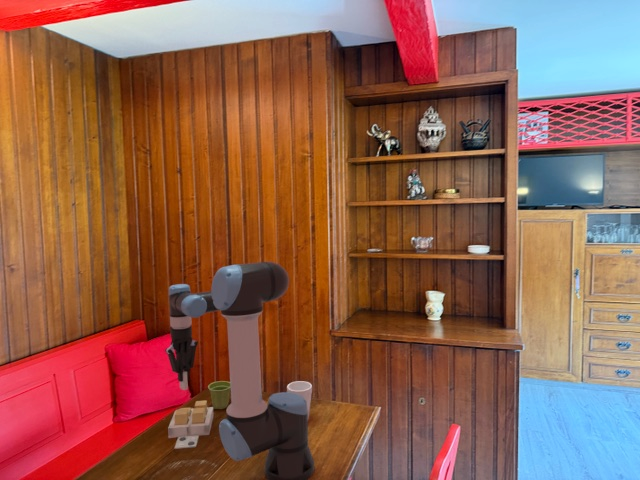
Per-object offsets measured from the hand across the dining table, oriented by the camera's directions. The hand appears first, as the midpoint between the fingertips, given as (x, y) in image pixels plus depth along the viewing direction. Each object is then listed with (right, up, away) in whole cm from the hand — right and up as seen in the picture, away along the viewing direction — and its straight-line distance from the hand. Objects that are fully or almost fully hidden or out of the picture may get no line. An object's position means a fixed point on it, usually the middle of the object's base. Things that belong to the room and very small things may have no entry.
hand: (183, 388), depth 162 cm
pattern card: (+5, -14, -12) cm, 19 cm away
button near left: (+1, -11, -5) cm, 12 cm away
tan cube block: (0, -12, +1) cm, 13 cm away
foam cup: (+43, -13, +3) cm, 45 cm away
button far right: (+6, -10, +2) cm, 12 cm away
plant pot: (+10, -12, +15) cm, 22 cm away
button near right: (+7, -10, -4) cm, 13 cm away
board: (+3, -14, -1) cm, 14 cm away
